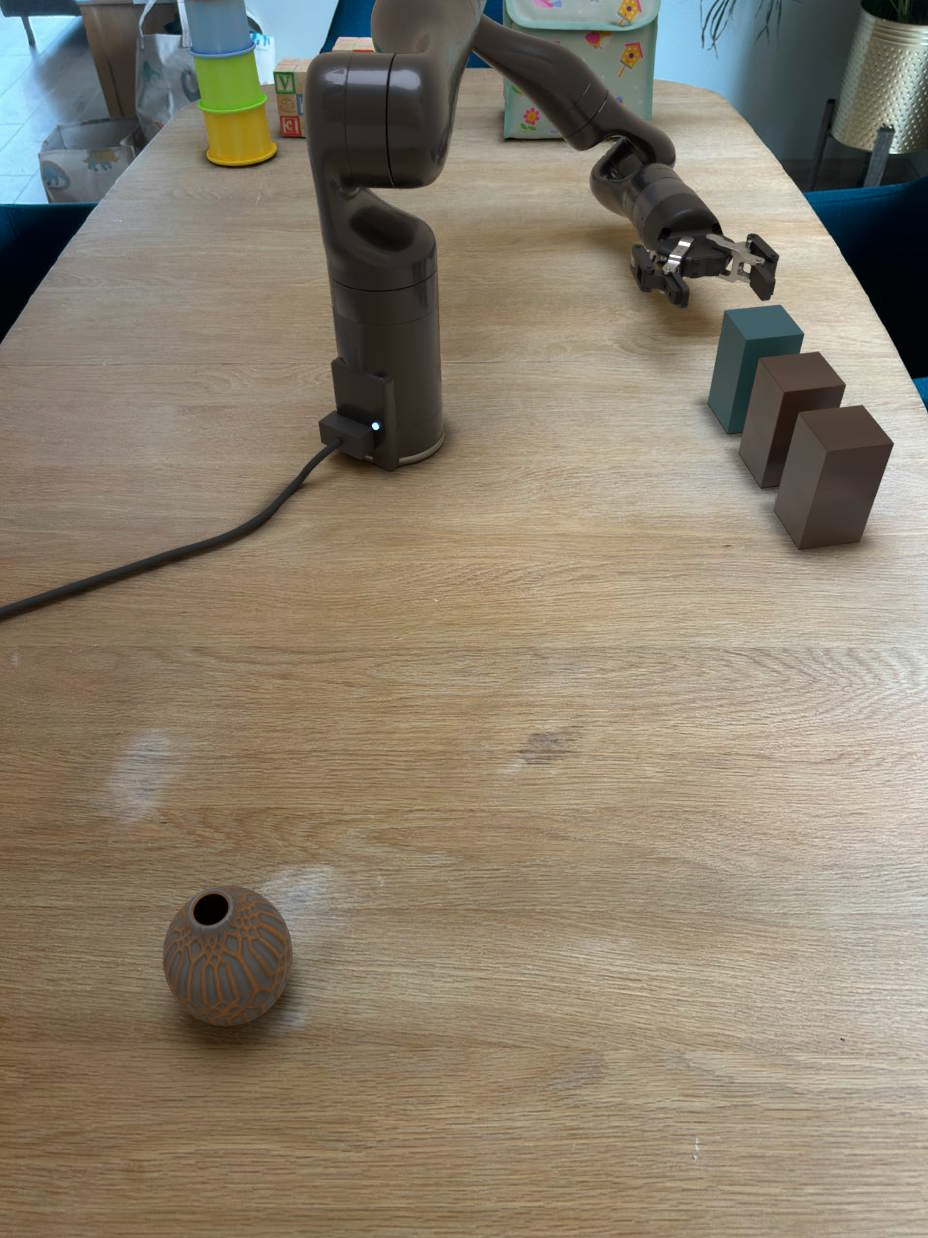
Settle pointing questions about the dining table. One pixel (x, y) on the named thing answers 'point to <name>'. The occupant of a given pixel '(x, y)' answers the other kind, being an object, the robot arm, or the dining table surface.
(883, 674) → the dining table surface
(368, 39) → the stack of blocks
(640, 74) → the lunch bag
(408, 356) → the robot arm
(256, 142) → the stacking cups
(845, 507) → the walnut block front
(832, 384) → the walnut block middle
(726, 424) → the teal block
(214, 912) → the vase
